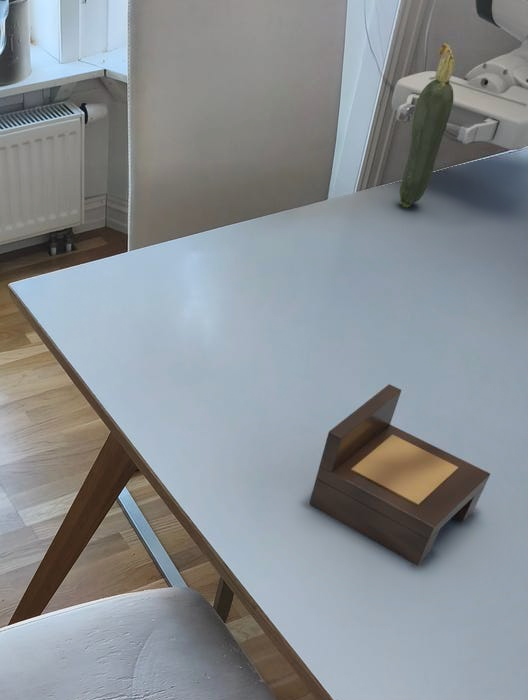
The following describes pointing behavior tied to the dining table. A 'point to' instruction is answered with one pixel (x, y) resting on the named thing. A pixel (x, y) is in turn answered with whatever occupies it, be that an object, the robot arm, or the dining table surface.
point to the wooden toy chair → (392, 481)
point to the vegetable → (428, 130)
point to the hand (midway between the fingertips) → (431, 125)
